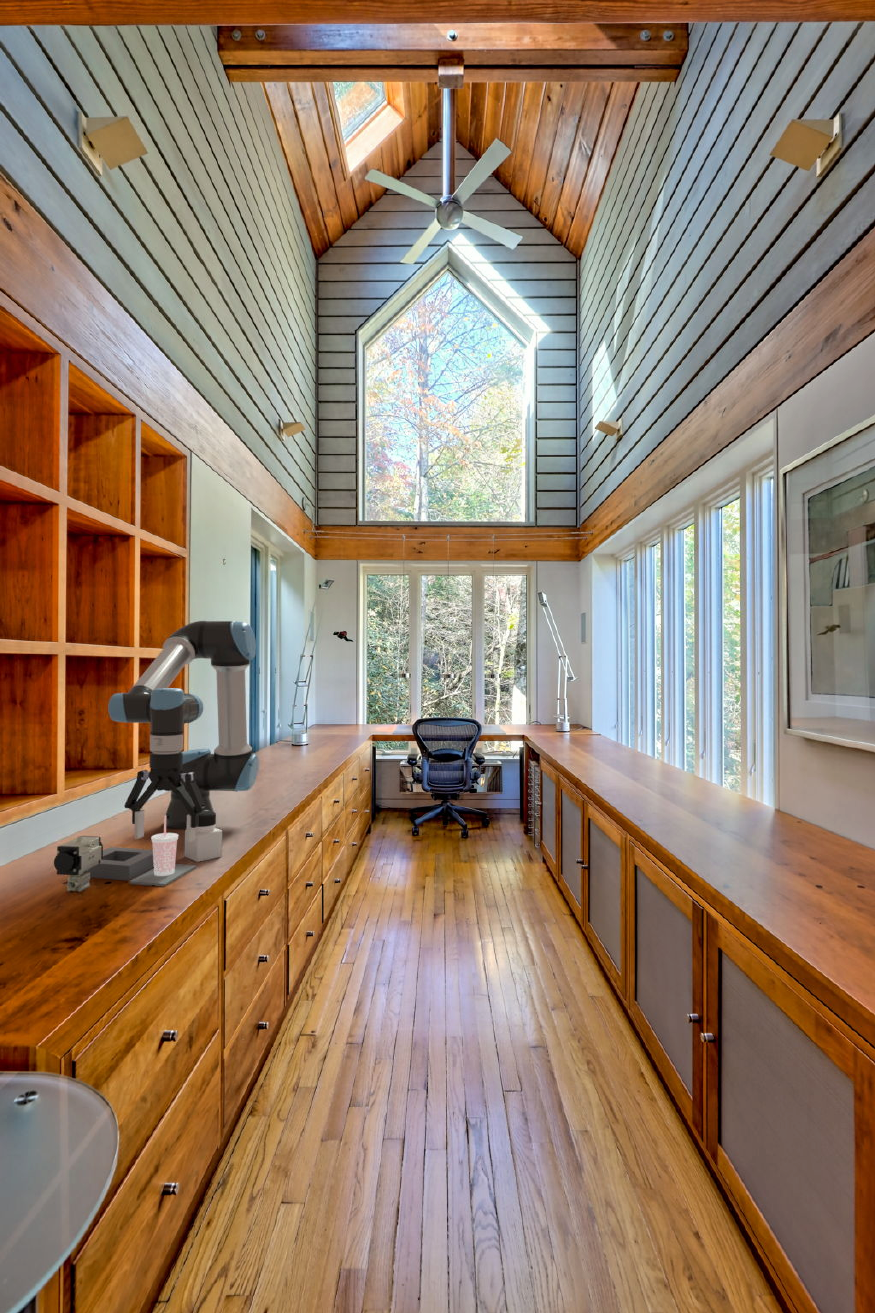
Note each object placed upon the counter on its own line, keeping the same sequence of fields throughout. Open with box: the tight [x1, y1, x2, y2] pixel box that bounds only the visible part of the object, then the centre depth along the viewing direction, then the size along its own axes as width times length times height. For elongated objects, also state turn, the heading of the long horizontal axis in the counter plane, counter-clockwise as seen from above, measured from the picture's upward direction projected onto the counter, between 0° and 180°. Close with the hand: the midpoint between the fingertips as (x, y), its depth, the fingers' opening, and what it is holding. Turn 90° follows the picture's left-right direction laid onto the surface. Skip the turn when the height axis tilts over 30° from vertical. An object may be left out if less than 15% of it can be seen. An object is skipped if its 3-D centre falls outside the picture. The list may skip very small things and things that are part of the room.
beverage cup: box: [150, 814, 179, 876], centre depth 162 cm, size 6×6×14 cm
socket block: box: [82, 846, 154, 881], centre depth 165 cm, size 13×14×4 cm
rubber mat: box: [129, 863, 197, 887], centre depth 162 cm, size 14×9×1 cm, turn 171°
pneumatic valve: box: [53, 835, 104, 893], centre depth 152 cm, size 6×12×12 cm, turn 176°
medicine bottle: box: [184, 810, 223, 863], centre depth 177 cm, size 7×7×12 cm
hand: (164, 839), depth 162 cm, fingers open, 13 cm apart
